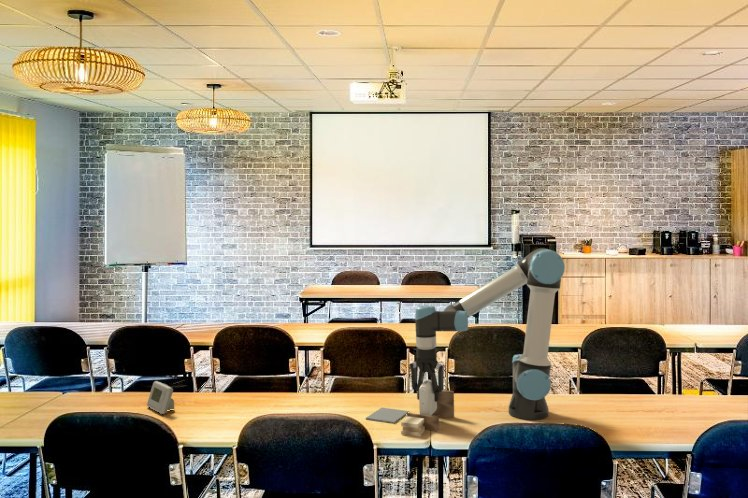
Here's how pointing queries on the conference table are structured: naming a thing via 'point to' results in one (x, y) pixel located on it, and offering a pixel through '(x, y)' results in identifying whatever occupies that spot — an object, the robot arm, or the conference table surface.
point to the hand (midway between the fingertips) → (428, 408)
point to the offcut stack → (412, 426)
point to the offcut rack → (438, 411)
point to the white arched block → (426, 398)
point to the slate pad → (387, 415)
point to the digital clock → (160, 398)
